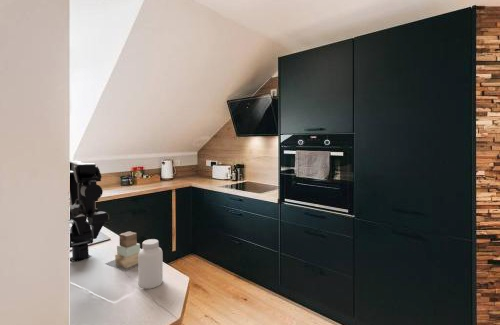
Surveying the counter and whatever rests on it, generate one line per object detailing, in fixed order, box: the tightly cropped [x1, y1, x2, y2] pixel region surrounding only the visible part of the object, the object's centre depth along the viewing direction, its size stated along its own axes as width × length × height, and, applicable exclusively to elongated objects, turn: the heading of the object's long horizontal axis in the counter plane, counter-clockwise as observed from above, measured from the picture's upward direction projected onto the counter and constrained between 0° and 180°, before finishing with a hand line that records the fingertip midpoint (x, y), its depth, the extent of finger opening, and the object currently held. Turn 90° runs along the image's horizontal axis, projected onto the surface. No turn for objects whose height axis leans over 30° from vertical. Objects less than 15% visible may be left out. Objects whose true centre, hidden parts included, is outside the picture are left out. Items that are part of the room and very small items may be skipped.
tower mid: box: [116, 242, 141, 257], centre depth 111 cm, size 6×6×4 cm
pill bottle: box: [137, 238, 164, 290], centre depth 95 cm, size 8×8×15 cm
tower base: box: [114, 253, 139, 268], centre depth 111 cm, size 7×7×4 cm
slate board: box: [104, 259, 138, 272], centre depth 111 cm, size 13×10×1 cm
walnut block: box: [118, 231, 138, 247], centre depth 110 cm, size 4×4×4 cm
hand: (87, 236), depth 105 cm, fingers open, 9 cm apart
